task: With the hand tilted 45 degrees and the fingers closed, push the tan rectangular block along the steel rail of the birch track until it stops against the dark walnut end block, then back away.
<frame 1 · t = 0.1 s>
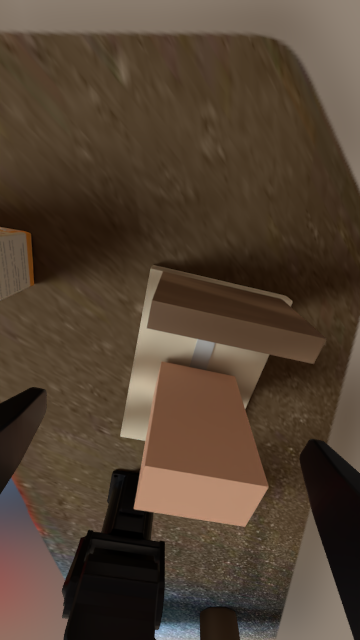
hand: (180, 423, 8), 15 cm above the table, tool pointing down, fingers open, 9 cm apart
tan rectangular block: (195, 428, 19), point 7 cm above the table, slide at 0.0 cm
track: (193, 369, 25), on the table
beer bottle: (217, 612, 48), on the table
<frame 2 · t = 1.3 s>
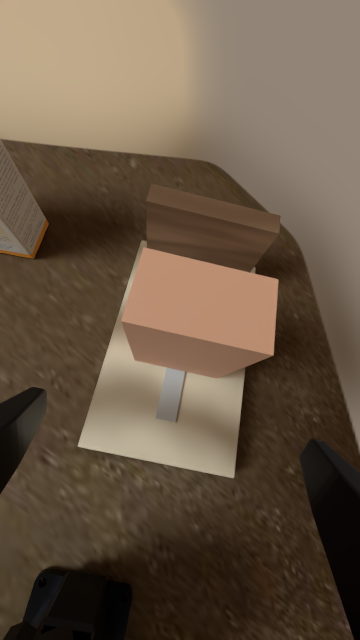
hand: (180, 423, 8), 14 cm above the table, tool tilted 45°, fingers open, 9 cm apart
supplement box: (3, 234, 25), on the table
tan rectangular block: (189, 329, 16), point 7 cm above the table, slide at 0.0 cm
track: (179, 346, 23), on the table
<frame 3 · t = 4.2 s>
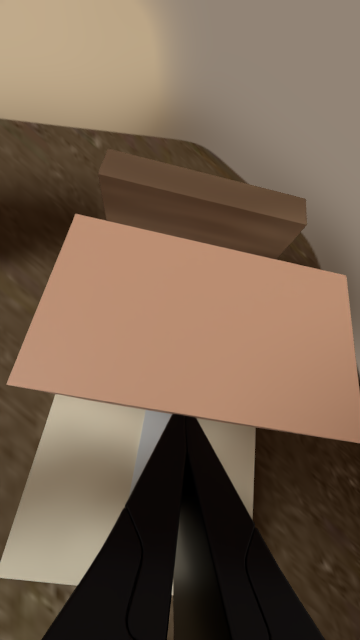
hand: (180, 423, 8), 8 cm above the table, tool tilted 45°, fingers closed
tan rectangular block: (177, 361, 10), point 7 cm above the table, slide at 1.0 cm, touching gripper
track: (161, 387, 16), on the table
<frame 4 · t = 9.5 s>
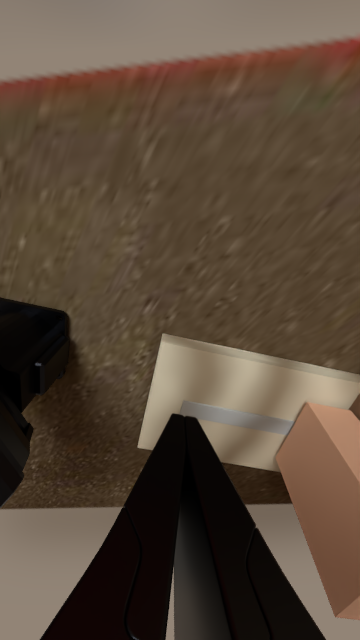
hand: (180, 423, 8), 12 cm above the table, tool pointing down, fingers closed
tan rectangular block: (344, 494, 17), point 7 cm above the table, slide at 6.0 cm
track: (247, 407, 23), on the table
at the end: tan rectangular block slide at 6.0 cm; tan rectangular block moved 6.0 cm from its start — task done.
